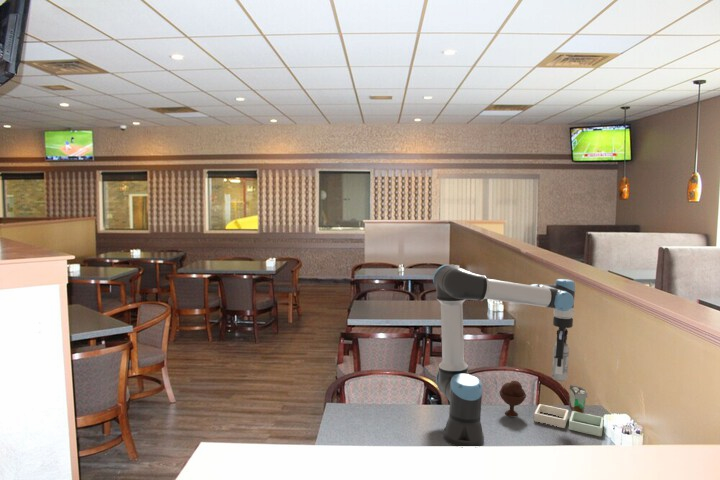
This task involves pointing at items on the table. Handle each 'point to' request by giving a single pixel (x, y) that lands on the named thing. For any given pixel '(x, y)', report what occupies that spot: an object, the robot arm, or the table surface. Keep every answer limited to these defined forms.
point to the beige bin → (549, 419)
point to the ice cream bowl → (512, 396)
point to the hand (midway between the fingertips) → (559, 371)
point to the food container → (577, 398)
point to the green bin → (586, 427)
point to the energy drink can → (565, 364)
